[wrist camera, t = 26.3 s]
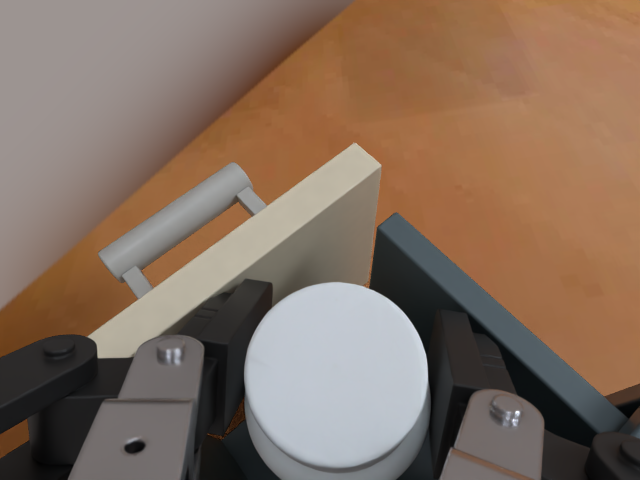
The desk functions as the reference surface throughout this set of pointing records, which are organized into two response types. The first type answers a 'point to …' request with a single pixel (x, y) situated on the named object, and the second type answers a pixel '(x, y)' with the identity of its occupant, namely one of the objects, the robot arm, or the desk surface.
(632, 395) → the cabinet
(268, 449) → the pill bottle
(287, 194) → the drawer
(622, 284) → the desk surface
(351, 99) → the desk surface
